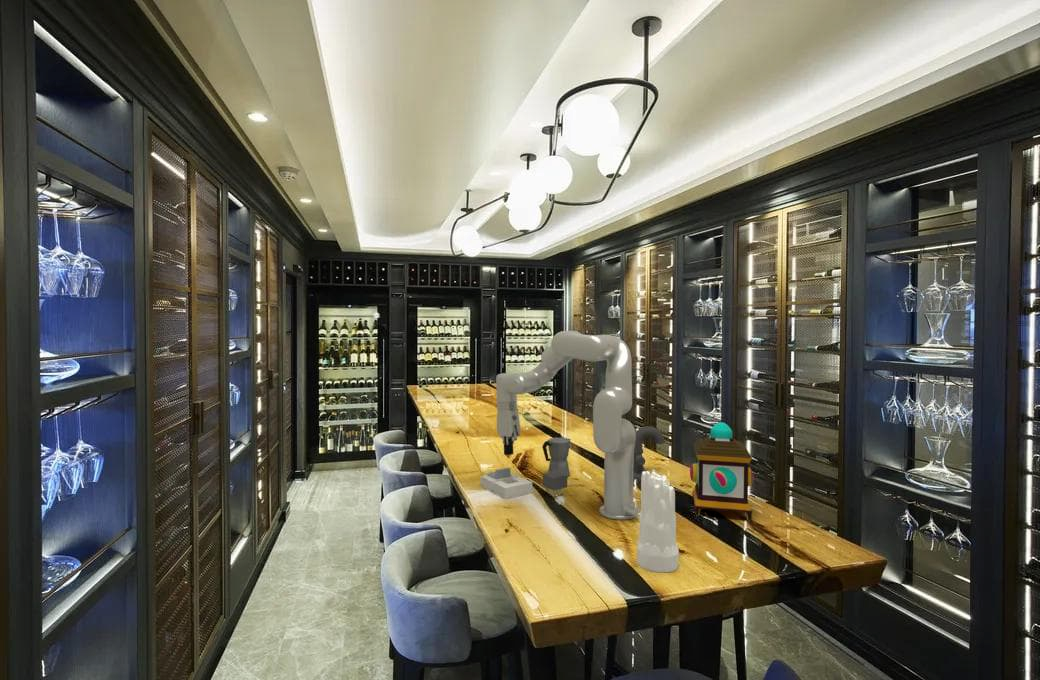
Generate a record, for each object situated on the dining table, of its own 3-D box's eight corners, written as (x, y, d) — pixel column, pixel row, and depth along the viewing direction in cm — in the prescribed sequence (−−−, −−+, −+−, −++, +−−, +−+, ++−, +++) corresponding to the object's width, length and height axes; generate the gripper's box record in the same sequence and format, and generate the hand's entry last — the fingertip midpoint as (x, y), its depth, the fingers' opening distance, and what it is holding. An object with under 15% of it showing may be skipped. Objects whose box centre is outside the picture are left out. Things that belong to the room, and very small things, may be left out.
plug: (567, 495, 194) (567, 475, 194) (553, 498, 190) (553, 478, 190) (556, 490, 199) (556, 470, 199) (542, 493, 196) (542, 473, 196)
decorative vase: (671, 553, 145) (671, 464, 144) (684, 572, 135) (685, 475, 134) (632, 554, 145) (632, 464, 144) (642, 573, 134) (642, 476, 133)
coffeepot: (562, 470, 225) (562, 429, 225) (578, 475, 218) (578, 432, 217) (535, 477, 216) (535, 434, 215) (550, 483, 208) (550, 438, 208)
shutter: (511, 476, 204) (511, 468, 204) (496, 479, 200) (496, 470, 200) (501, 472, 210) (501, 464, 209) (487, 474, 206) (487, 466, 206)
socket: (532, 492, 197) (532, 482, 196) (505, 499, 190) (505, 488, 190) (506, 480, 212) (506, 470, 211) (480, 486, 205) (480, 475, 205)
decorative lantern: (747, 502, 186) (749, 418, 185) (757, 523, 167) (758, 429, 165) (688, 497, 191) (689, 415, 190) (690, 517, 172) (691, 426, 171)
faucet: (670, 480, 212) (670, 430, 212) (630, 479, 213) (631, 430, 212) (659, 467, 230) (659, 422, 230) (623, 467, 231) (623, 422, 230)
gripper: (526, 407, 195) (528, 456, 195) (504, 403, 207) (506, 449, 208) (509, 409, 191) (511, 459, 191) (488, 405, 203) (490, 452, 203)
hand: (508, 454), depth 199 cm, fingers closed
